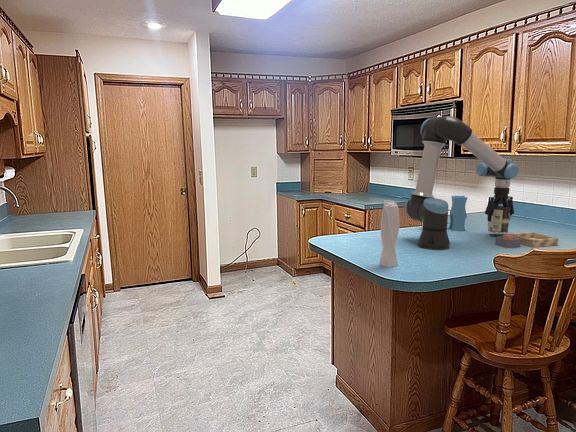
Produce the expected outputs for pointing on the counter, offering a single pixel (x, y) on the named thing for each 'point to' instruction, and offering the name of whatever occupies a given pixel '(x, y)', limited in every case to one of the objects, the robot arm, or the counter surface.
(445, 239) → the robot arm
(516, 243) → the button box
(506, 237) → the button
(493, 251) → the counter surface
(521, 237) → the woven basket tray
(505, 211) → the coffee can
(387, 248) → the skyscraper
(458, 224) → the vase
